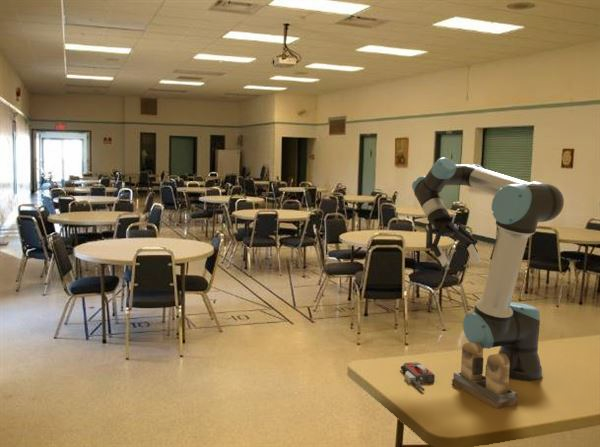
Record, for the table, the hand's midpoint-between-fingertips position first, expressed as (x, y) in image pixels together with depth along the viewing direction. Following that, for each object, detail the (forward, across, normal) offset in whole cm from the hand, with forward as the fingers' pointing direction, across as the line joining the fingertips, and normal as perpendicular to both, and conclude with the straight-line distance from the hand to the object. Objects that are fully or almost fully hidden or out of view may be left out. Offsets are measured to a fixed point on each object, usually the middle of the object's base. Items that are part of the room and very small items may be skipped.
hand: (461, 262), depth 204 cm
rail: (+42, +8, -9) cm, 43 cm away
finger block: (+36, +8, -12) cm, 39 cm away
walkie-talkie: (+30, +20, -21) cm, 42 cm away
